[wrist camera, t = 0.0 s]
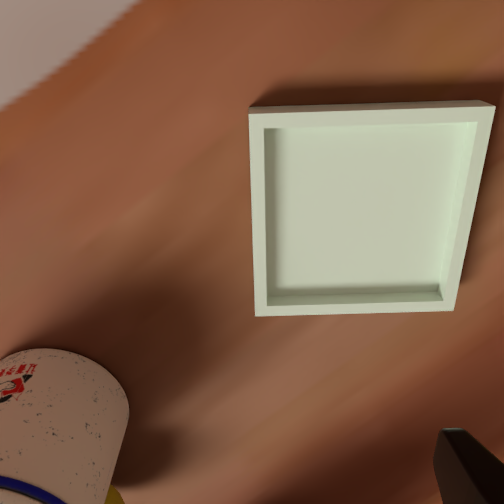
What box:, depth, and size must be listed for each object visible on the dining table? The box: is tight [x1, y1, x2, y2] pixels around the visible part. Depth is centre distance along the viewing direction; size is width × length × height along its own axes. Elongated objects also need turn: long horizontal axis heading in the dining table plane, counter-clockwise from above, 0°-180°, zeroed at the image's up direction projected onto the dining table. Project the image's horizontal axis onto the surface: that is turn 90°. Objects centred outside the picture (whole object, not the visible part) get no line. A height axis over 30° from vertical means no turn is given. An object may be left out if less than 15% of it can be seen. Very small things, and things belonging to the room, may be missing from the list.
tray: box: [249, 100, 496, 316], centre depth 22 cm, size 10×10×2 cm
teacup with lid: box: [0, 348, 129, 504], centre depth 23 cm, size 12×9×12 cm
